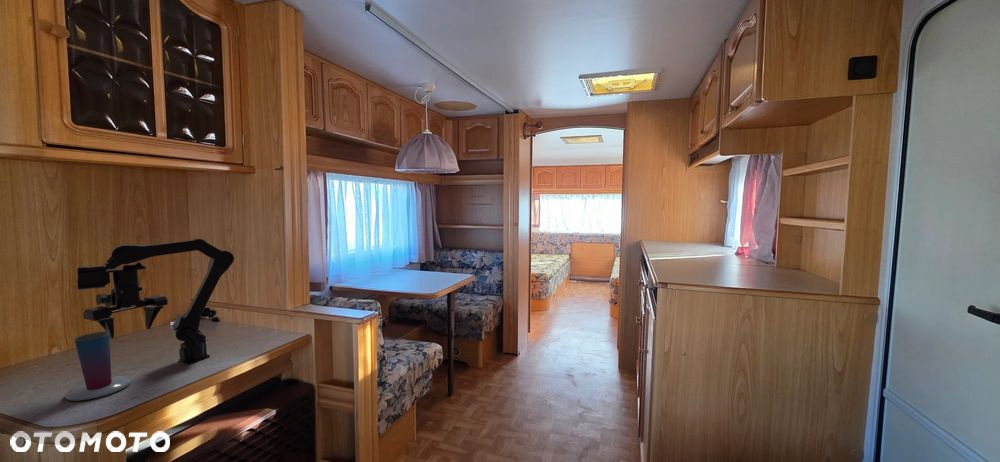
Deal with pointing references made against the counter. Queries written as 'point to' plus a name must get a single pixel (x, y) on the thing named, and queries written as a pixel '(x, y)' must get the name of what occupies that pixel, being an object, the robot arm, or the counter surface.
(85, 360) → the cup
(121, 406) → the counter surface
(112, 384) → the saucer
